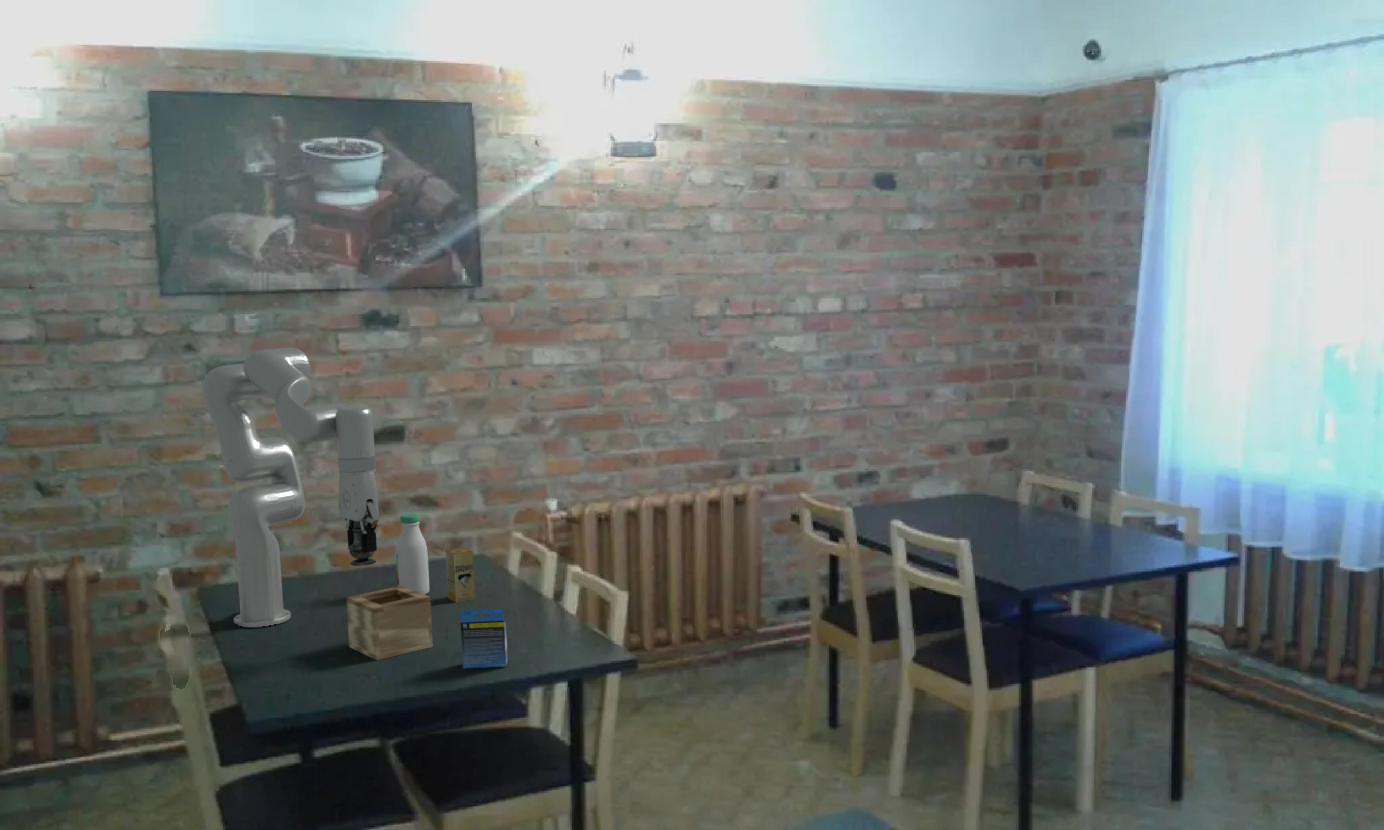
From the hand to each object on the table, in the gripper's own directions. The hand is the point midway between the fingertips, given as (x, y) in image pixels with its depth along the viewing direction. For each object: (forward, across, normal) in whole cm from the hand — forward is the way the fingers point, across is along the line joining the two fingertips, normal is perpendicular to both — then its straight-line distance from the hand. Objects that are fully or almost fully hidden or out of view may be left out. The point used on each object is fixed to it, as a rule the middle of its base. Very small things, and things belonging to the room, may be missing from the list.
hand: (362, 548), depth 264 cm
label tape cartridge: (+22, +27, +13) cm, 38 cm away
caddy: (+22, +2, +4) cm, 22 cm away
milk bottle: (+22, -35, +28) cm, 50 cm away
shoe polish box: (+22, -22, +34) cm, 47 cm away
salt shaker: (+3, 0, 0) cm, 3 cm away
